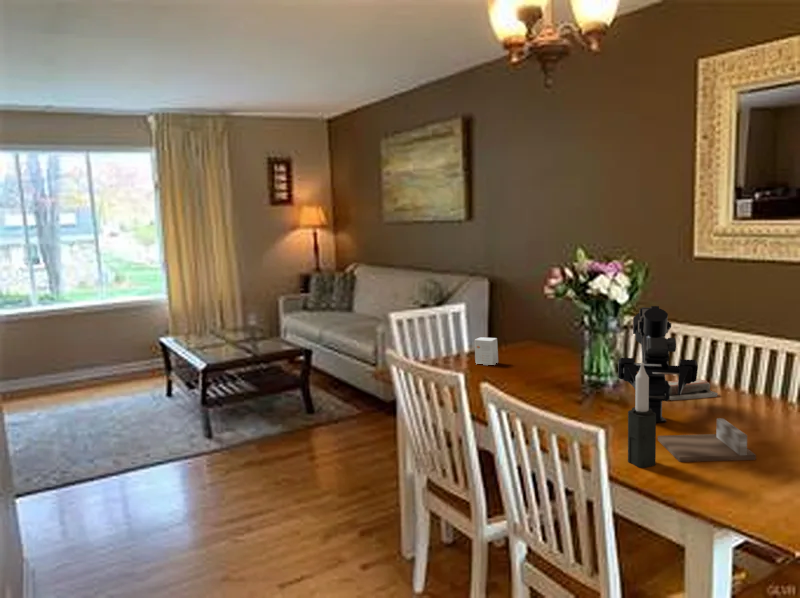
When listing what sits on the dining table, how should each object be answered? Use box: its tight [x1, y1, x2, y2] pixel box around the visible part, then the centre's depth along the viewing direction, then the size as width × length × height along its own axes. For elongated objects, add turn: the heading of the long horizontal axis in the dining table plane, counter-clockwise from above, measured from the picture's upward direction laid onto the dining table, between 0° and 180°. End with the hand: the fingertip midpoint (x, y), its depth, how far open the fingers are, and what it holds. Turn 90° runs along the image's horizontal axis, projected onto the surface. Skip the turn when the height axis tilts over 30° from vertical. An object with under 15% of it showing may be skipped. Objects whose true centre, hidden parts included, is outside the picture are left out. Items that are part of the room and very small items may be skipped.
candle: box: [627, 362, 657, 469], centre depth 144 cm, size 5×5×25 cm
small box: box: [474, 336, 499, 366], centre depth 247 cm, size 8×6×10 cm
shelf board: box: [657, 417, 757, 463], centre depth 152 cm, size 14×18×6 cm
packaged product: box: [668, 379, 718, 401], centre depth 196 cm, size 18×5×10 cm
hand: (659, 393), depth 149 cm, fingers open, 9 cm apart
